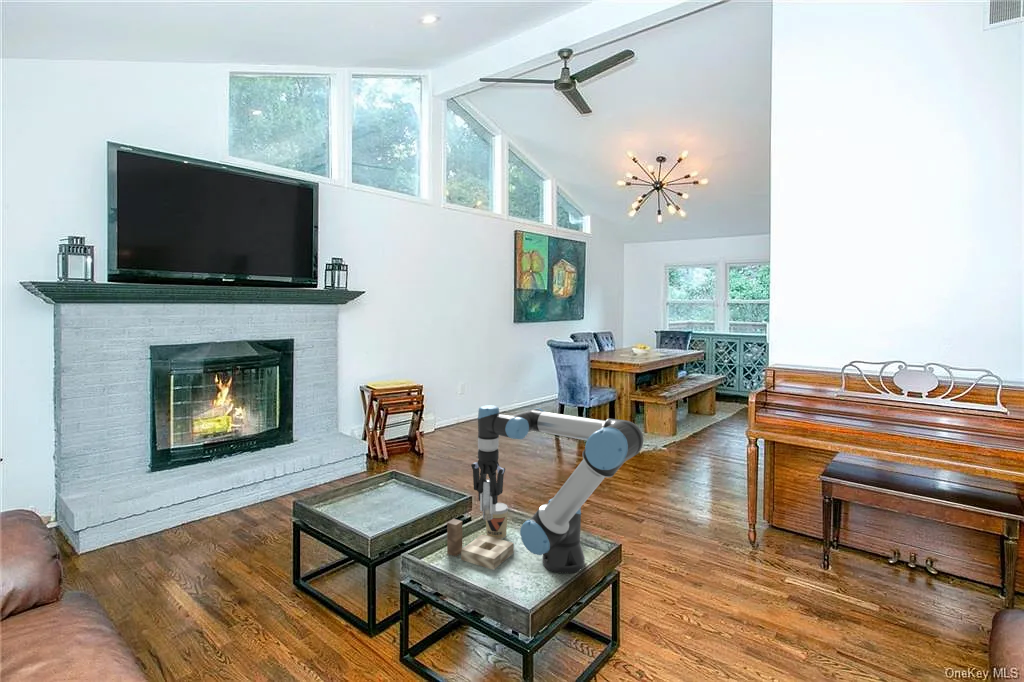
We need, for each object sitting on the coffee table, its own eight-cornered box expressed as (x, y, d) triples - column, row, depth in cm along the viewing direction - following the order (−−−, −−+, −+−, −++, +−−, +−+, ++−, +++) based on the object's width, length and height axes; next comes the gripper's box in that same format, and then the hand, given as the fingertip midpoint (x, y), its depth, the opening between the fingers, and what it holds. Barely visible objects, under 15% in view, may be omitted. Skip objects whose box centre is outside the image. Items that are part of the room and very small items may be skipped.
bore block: (513, 553, 196) (513, 542, 196) (493, 570, 184) (494, 559, 184) (482, 544, 203) (482, 534, 203) (461, 559, 191) (461, 549, 191)
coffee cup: (482, 540, 207) (482, 510, 206) (487, 529, 216) (487, 501, 215) (505, 542, 205) (506, 512, 204) (509, 531, 214) (510, 503, 213)
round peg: (494, 517, 193) (494, 480, 192) (489, 521, 190) (489, 483, 189) (486, 515, 195) (486, 478, 194) (480, 519, 192) (481, 481, 191)
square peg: (462, 552, 197) (462, 521, 196) (456, 556, 193) (456, 525, 192) (453, 549, 199) (453, 518, 198) (447, 553, 195) (447, 522, 194)
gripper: (513, 449, 189) (512, 512, 191) (474, 442, 198) (474, 502, 200) (502, 454, 183) (502, 519, 185) (463, 447, 191) (463, 509, 193)
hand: (487, 510), depth 192 cm, fingers closed on round peg, 3 cm apart
